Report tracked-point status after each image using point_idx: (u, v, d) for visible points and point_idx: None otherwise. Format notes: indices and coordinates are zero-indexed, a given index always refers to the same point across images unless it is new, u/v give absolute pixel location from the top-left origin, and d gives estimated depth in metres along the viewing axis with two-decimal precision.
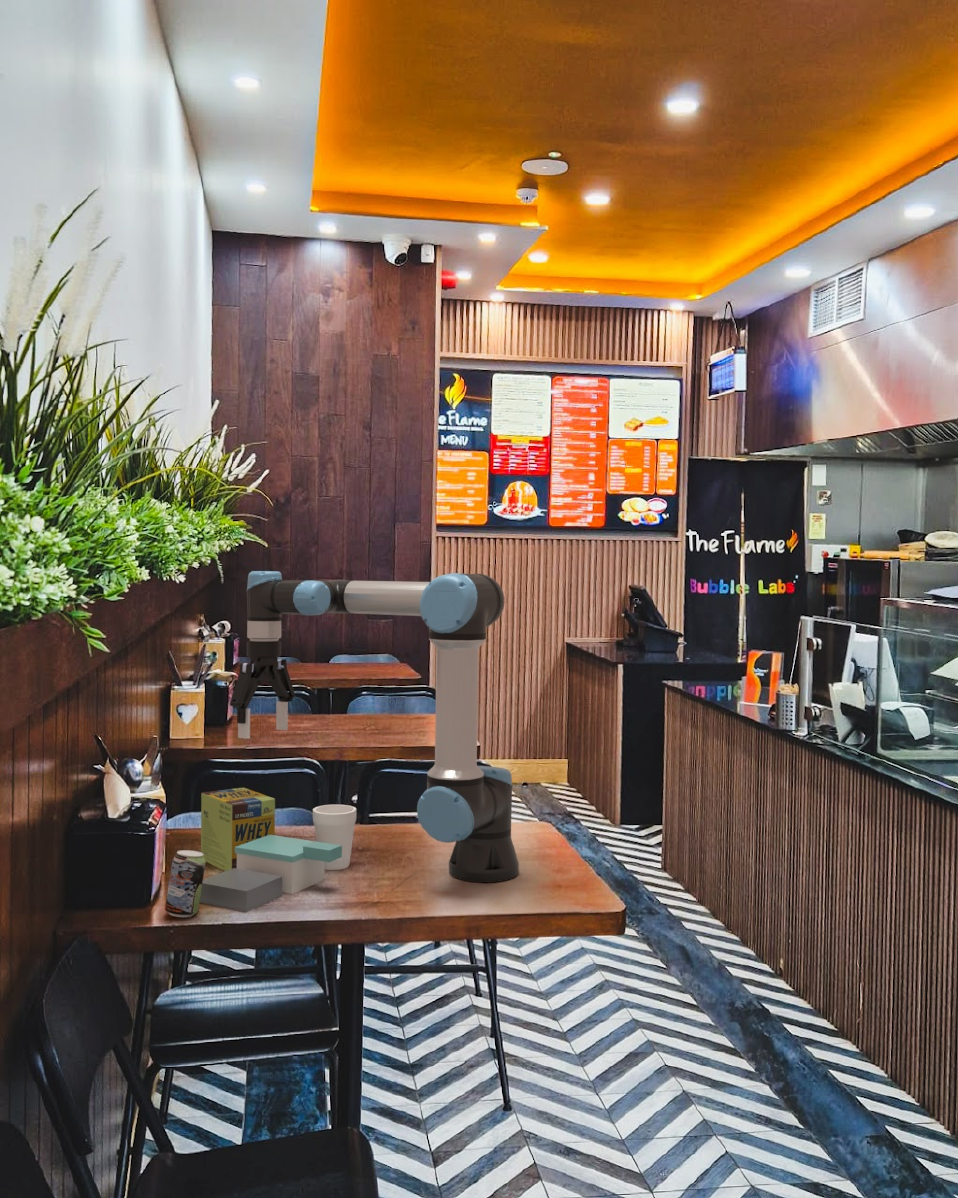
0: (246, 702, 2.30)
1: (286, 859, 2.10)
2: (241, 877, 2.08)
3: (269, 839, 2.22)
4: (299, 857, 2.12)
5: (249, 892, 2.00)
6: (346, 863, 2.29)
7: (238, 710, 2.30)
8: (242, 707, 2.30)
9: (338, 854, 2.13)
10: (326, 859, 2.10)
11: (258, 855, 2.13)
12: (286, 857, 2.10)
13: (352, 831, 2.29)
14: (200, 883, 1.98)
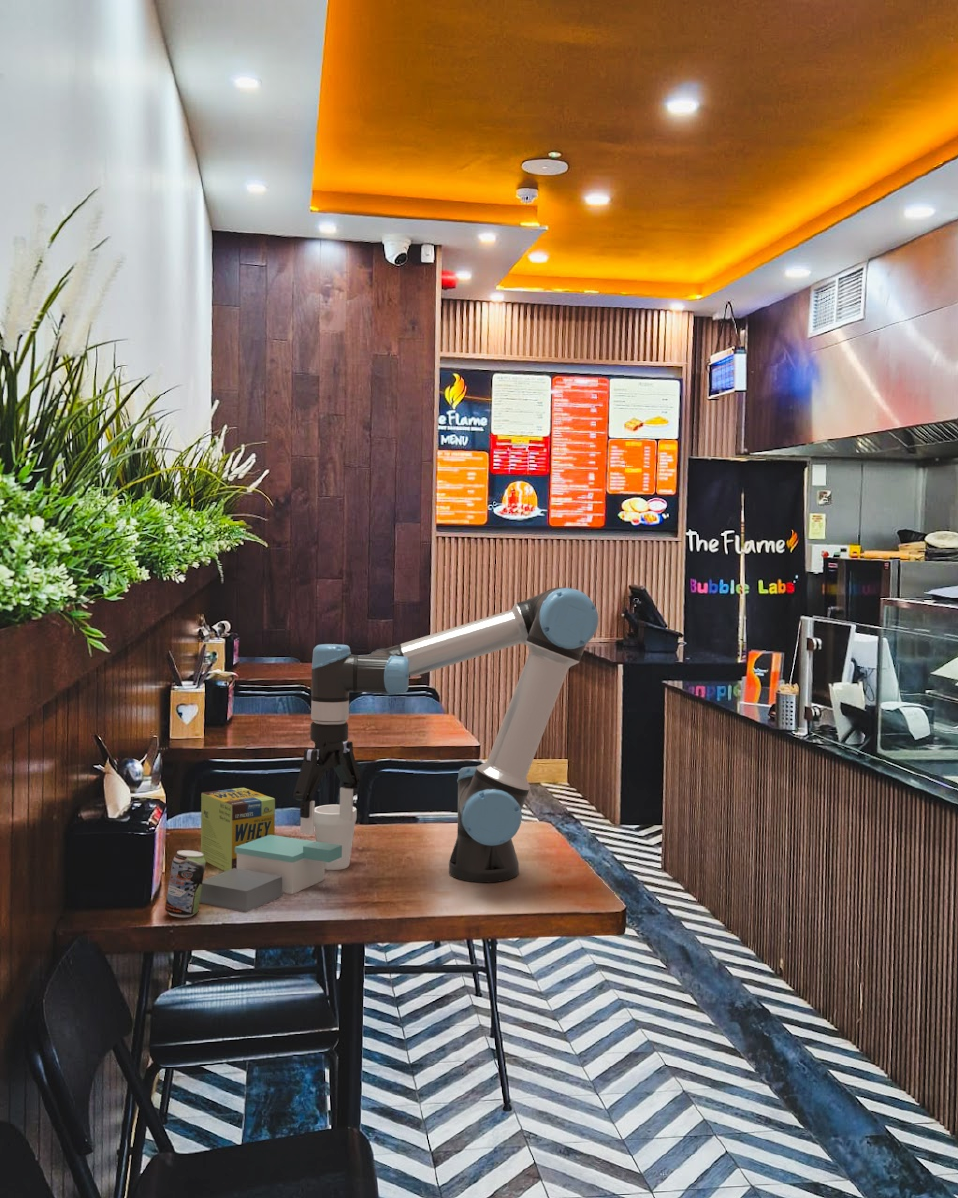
0: (311, 794, 2.05)
1: (286, 859, 2.10)
2: (241, 877, 2.08)
3: (269, 839, 2.22)
4: (299, 857, 2.12)
5: (249, 892, 2.00)
6: (346, 863, 2.29)
7: (301, 803, 2.05)
8: (306, 800, 2.05)
9: (338, 854, 2.13)
10: (326, 859, 2.10)
11: (258, 855, 2.13)
12: (286, 857, 2.10)
13: (352, 831, 2.29)
14: (200, 883, 1.98)
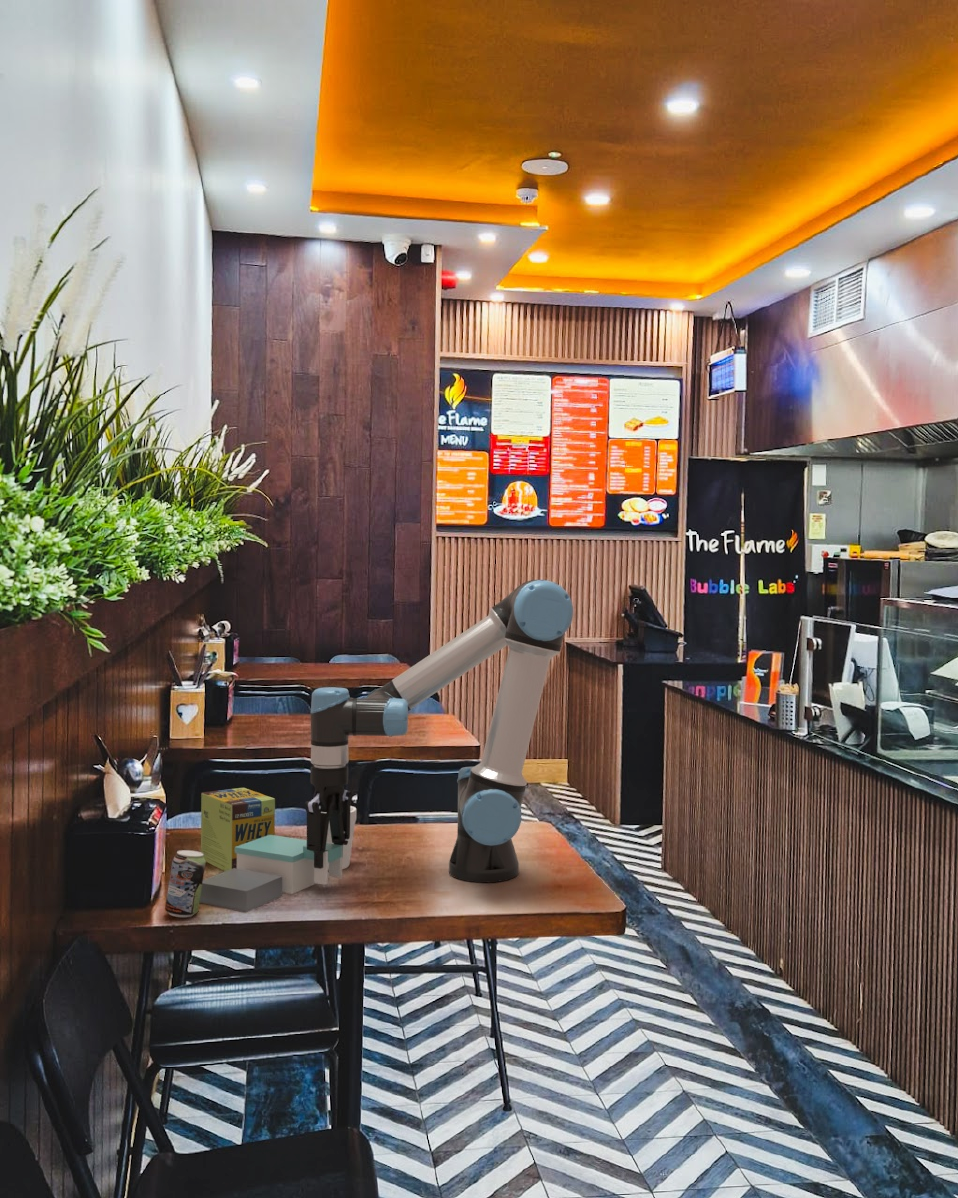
0: (323, 845, 2.09)
1: (286, 859, 2.10)
2: (241, 877, 2.08)
3: (269, 839, 2.22)
4: (299, 857, 2.12)
5: (249, 892, 2.00)
6: (346, 863, 2.29)
7: (315, 854, 2.09)
8: (320, 851, 2.09)
9: (338, 854, 2.13)
10: None
11: (258, 855, 2.13)
12: (287, 857, 2.10)
13: (352, 831, 2.29)
14: (200, 883, 1.98)
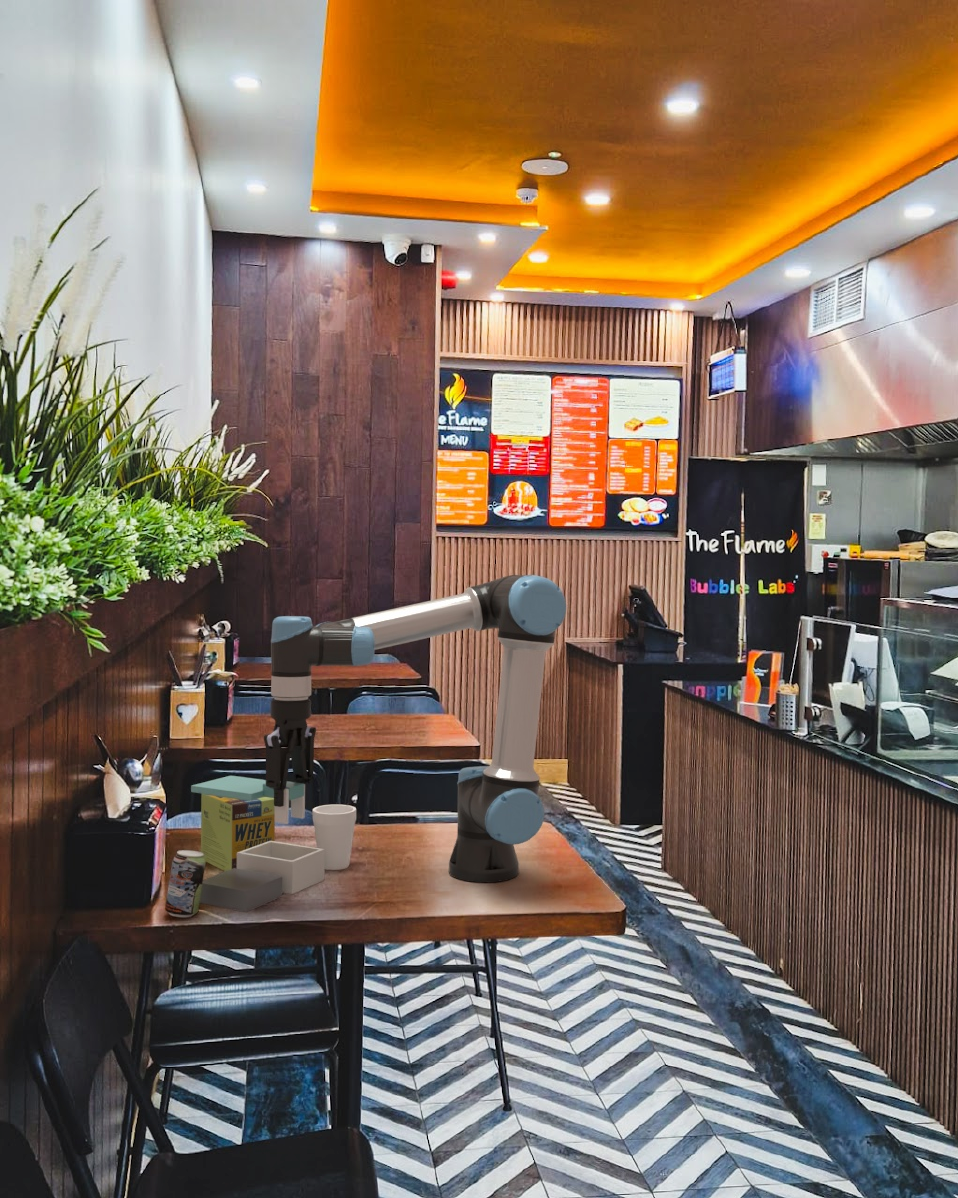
0: (283, 782, 1.97)
1: (244, 797, 1.98)
2: (241, 877, 2.08)
3: (229, 779, 2.10)
4: (258, 795, 2.00)
5: (249, 892, 2.00)
6: (346, 863, 2.29)
7: (275, 791, 1.97)
8: (280, 788, 1.97)
9: (299, 792, 2.01)
10: None
11: (215, 793, 2.01)
12: (245, 795, 1.98)
13: (352, 831, 2.29)
14: (200, 883, 1.98)
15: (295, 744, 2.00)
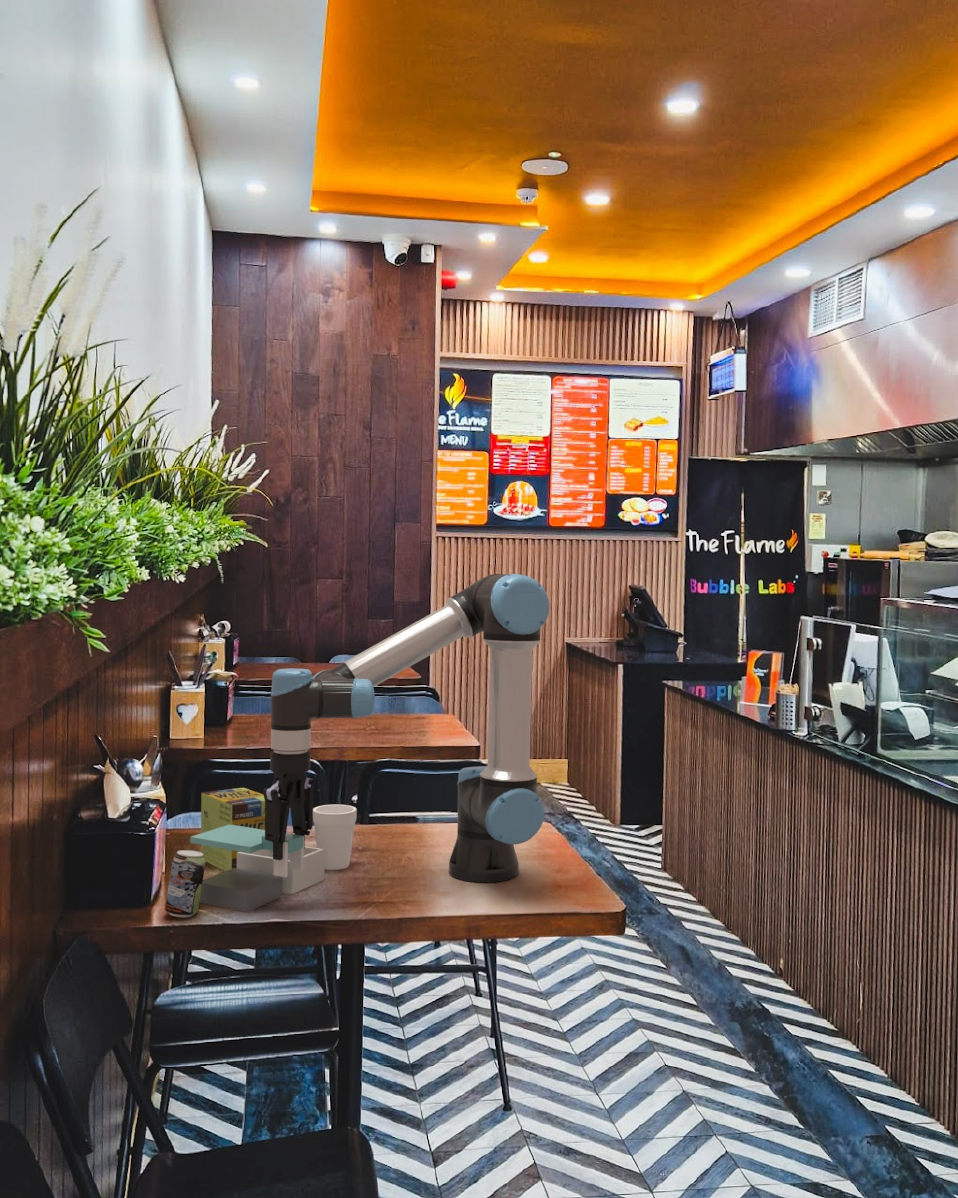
0: (282, 835, 1.97)
1: (243, 850, 1.99)
2: (241, 877, 2.08)
3: (228, 829, 2.11)
4: (257, 848, 2.00)
5: (249, 892, 2.00)
6: (346, 863, 2.29)
7: (274, 844, 1.97)
8: (279, 841, 1.97)
9: (298, 845, 2.01)
10: None
11: (214, 845, 2.02)
12: (244, 848, 1.98)
13: (352, 831, 2.29)
14: (200, 883, 1.98)
15: (294, 797, 2.00)
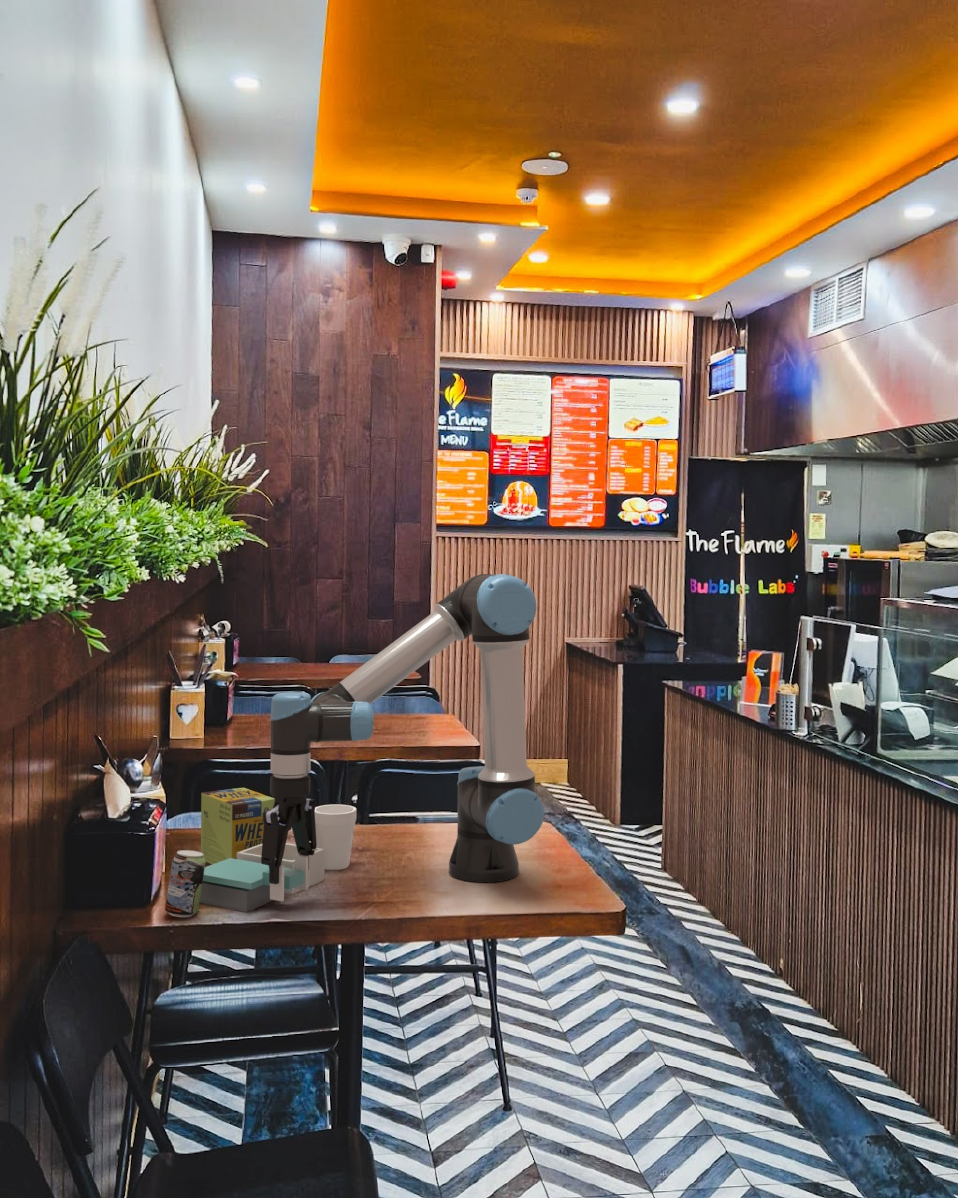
0: (279, 859, 1.96)
1: (244, 886, 1.99)
2: None
3: (228, 863, 2.11)
4: (258, 884, 2.00)
5: (249, 892, 2.00)
6: (346, 863, 2.29)
7: (270, 868, 1.96)
8: (275, 865, 1.96)
9: (299, 880, 2.01)
10: (286, 886, 1.99)
11: (215, 881, 2.02)
12: (245, 884, 1.99)
13: (352, 831, 2.29)
14: (200, 883, 1.98)
15: (294, 821, 2.01)
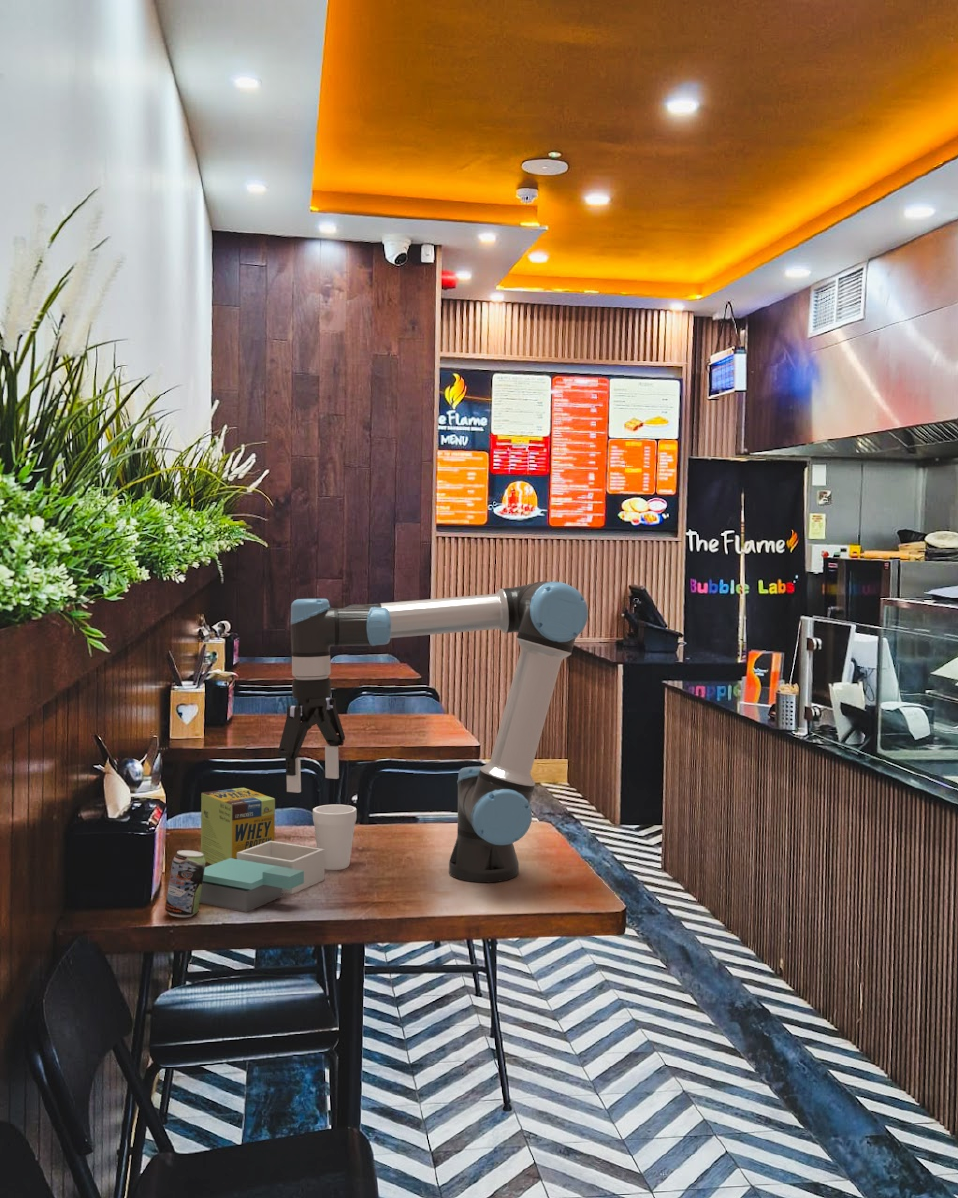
0: (296, 751, 2.00)
1: (244, 886, 1.99)
2: None
3: (228, 863, 2.11)
4: (258, 884, 2.00)
5: (249, 892, 2.00)
6: (346, 863, 2.29)
7: (287, 760, 2.00)
8: (292, 757, 2.00)
9: (299, 880, 2.01)
10: (286, 886, 1.99)
11: (215, 881, 2.02)
12: (245, 884, 1.99)
13: (352, 831, 2.29)
14: (200, 883, 1.98)
15: (317, 722, 2.07)
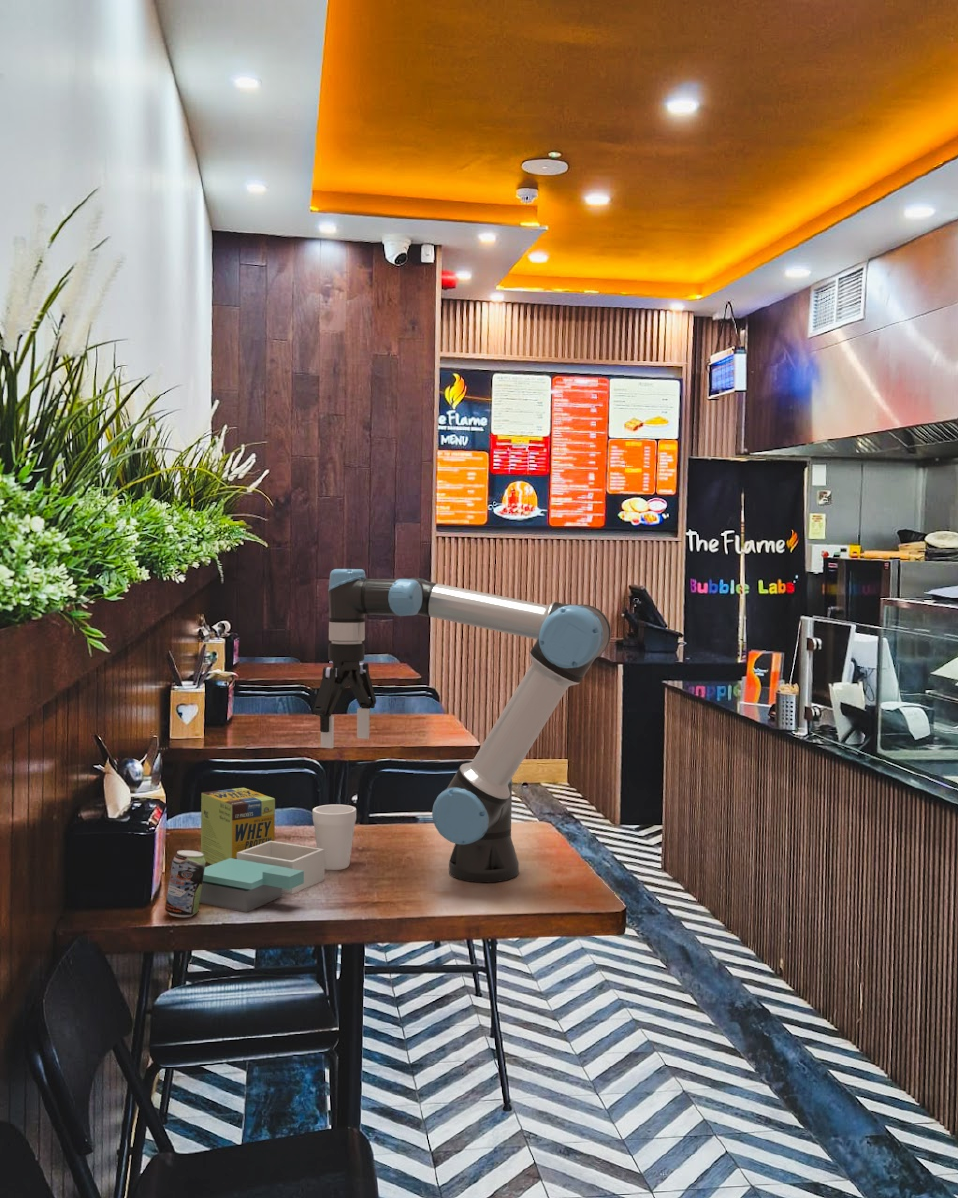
0: (330, 709, 2.15)
1: (244, 886, 1.99)
2: None
3: (228, 863, 2.11)
4: (258, 884, 2.00)
5: (249, 892, 2.00)
6: (346, 863, 2.29)
7: (321, 718, 2.15)
8: (326, 715, 2.14)
9: (299, 880, 2.01)
10: (286, 886, 1.99)
11: (215, 881, 2.02)
12: (245, 884, 1.99)
13: (352, 831, 2.29)
14: (200, 883, 1.98)
15: (350, 684, 2.22)
